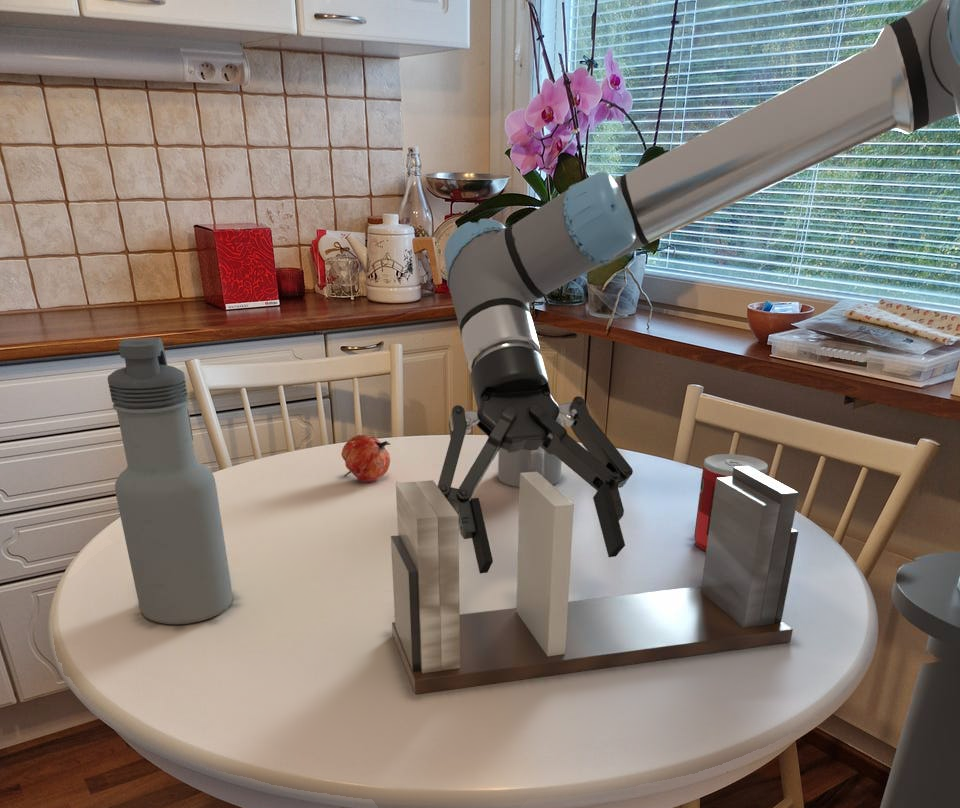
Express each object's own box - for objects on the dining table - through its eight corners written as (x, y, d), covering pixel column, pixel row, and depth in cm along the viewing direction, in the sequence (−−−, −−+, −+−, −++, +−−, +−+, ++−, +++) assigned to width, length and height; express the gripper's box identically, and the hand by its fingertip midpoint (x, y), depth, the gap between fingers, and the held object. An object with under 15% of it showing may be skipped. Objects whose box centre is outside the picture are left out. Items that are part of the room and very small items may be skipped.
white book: (532, 609, 89) (537, 471, 82) (565, 654, 81) (574, 504, 74) (516, 611, 89) (519, 472, 82) (547, 656, 80) (554, 506, 73)
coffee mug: (501, 467, 140) (502, 406, 135) (561, 470, 139) (564, 408, 134) (492, 493, 128) (493, 427, 123) (558, 496, 127) (561, 429, 122)
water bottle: (144, 592, 97) (91, 334, 83) (233, 583, 99) (195, 330, 86) (137, 632, 88) (77, 351, 75) (234, 621, 90) (192, 346, 77)
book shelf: (730, 594, 97) (752, 451, 89) (790, 642, 86) (821, 485, 79) (392, 635, 87) (384, 480, 80) (415, 694, 77) (408, 523, 69)
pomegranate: (340, 499, 132) (382, 467, 126) (318, 457, 132) (358, 424, 126) (370, 491, 138) (410, 461, 132) (348, 451, 138) (388, 419, 132)
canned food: (726, 531, 114) (738, 450, 109) (767, 551, 108) (782, 467, 103) (680, 539, 111) (690, 457, 106) (720, 561, 105) (732, 475, 100)
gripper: (606, 379, 92) (656, 559, 86) (382, 395, 86) (421, 589, 81) (630, 335, 85) (686, 528, 79) (388, 349, 79) (431, 558, 74)
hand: (552, 559), depth 80 cm, fingers open, 12 cm apart
